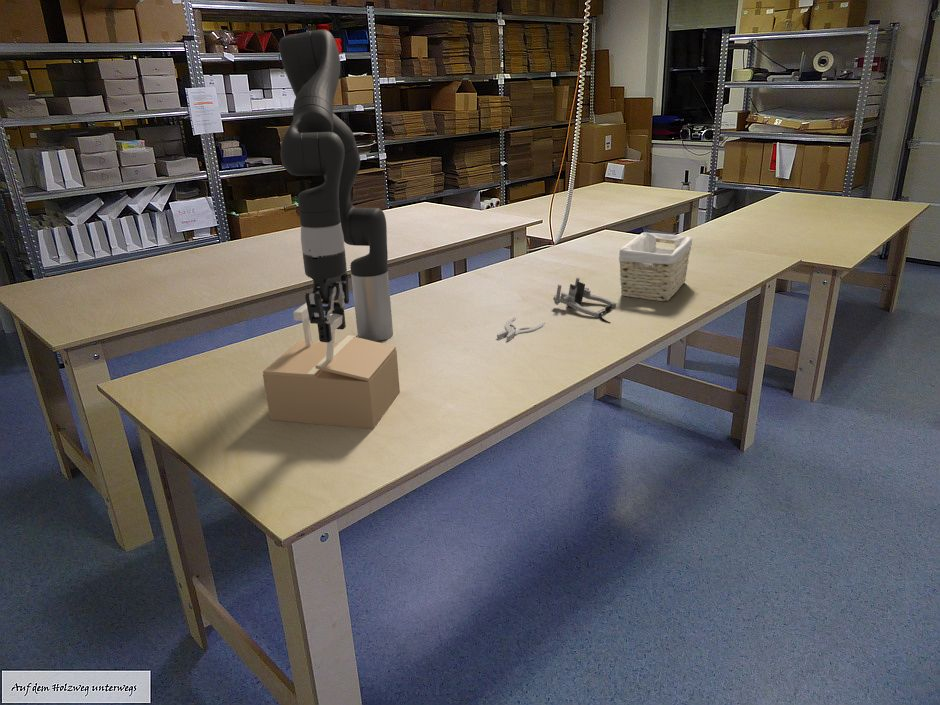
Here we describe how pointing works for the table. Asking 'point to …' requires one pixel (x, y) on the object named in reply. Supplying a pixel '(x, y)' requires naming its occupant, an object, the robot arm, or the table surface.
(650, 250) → the storage basket
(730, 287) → the table surface
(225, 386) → the table surface
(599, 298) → the bike brake
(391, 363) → the carton
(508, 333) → the pliers
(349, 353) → the right flap
